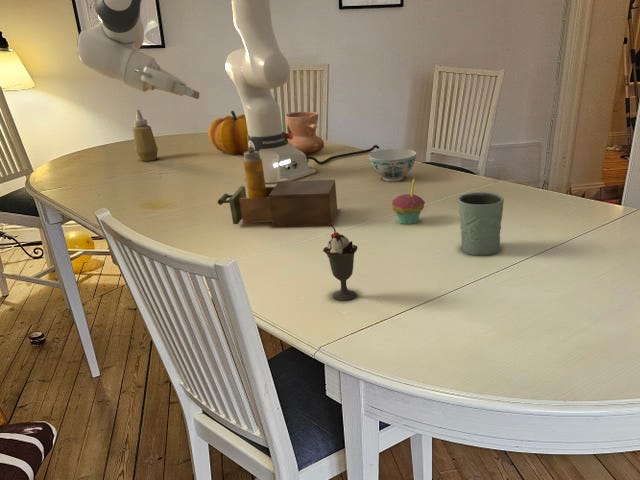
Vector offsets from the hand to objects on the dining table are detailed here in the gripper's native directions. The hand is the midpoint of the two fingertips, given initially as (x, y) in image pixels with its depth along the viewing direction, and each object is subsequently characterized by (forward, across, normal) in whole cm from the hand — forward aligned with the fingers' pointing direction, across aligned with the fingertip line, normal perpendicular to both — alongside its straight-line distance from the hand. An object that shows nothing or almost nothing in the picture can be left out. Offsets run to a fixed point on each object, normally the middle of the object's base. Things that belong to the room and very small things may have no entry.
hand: (196, 95), depth 168 cm
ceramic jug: (+31, +74, +5) cm, 80 cm away
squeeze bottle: (-23, +82, +30) cm, 90 cm away
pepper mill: (+25, -4, +22) cm, 33 cm away
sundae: (+48, -57, +24) cm, 79 cm away
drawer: (+25, -4, +23) cm, 34 cm away
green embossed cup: (+76, -38, +7) cm, 85 cm away
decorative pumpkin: (+7, +85, +14) cm, 87 cm away
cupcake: (+62, -15, +8) cm, 64 cm away
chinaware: (+60, +29, 0) cm, 66 cm away
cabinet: (+37, -6, +18) cm, 42 cm away
